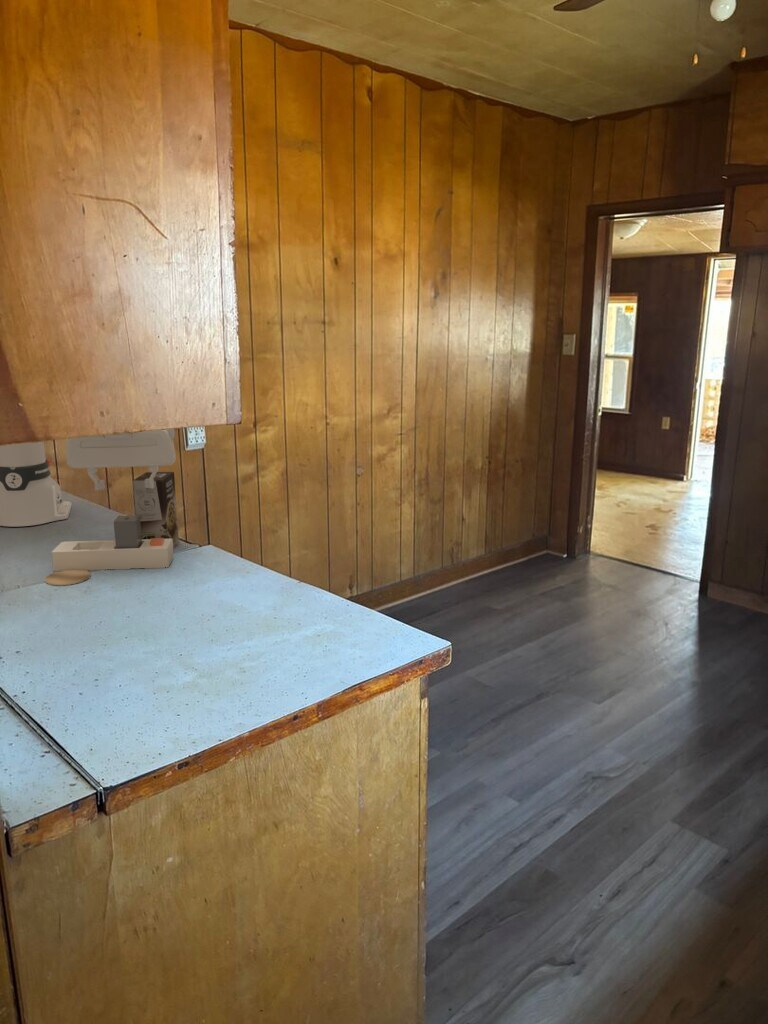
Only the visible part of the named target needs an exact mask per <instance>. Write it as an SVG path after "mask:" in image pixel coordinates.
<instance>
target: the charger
mask: <svg viewBox="0 0 768 1024" xmlns="http://www.w3.org/2000/svg"><path fill="white" fill-rule="evenodd" d="M113 528H114V538H115V539H114V540H115V542H116V549H122V548H140V546H141V545H142V536H141V524H140V515H118V516H117V517H115V519H114V520H113Z"/></svg>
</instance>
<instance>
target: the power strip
mask: <svg viewBox="0 0 768 1024" xmlns="http://www.w3.org/2000/svg"><path fill="white" fill-rule="evenodd" d="M174 554H175V553H174V548H173V539H164V538H152V539H142V545H141V546H140V548H122V549H116V542H115V539H113V540H112V539H108V540H106V539H105V540H77V541H76V540H75V541H73V540H72V541H71V540H70V541H61V542H60V543H59V544H58V545H57V546H56V547H55V548H54V549H53V550H52V551H51V560H52V570H53V572H54V573H56V572H60V571H65V570H85V571H108V570H107V569H115V570H131V569H130V568H145V569H167V567H169V568H170V566H169V565H171V564H170V563H172V562H173V560H172V559H174V558H175V556H174ZM173 557H174V558H173ZM171 561H172V562H171ZM165 567H166V568H165ZM105 569H106V570H105Z"/></svg>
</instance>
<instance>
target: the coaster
mask: <svg viewBox="0 0 768 1024" xmlns="http://www.w3.org/2000/svg"><path fill="white" fill-rule="evenodd" d="M89 577H90V578H91V573H90V572H89V570H65V571H55V572H54V573H50V574H49V575H47V576H46V577H45V578H44V579H45V580H44V581H45V583H46V584H47V583H48V584H47V585H49V584H50V586H54V585H61V586H60V587H63V585H66V586H71V584H74V585H77V584H76V583H78V584H81V583H83V582H82V581H84V580H86V581H88V580H89V579H90V578H89ZM88 578H89V579H88ZM87 579H88V580H87ZM80 582H81V583H80ZM84 582H85V581H84Z"/></svg>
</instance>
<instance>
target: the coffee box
mask: <svg viewBox="0 0 768 1024" xmlns="http://www.w3.org/2000/svg"><path fill="white" fill-rule="evenodd" d="M152 472H153V471H152ZM152 472H150V471H149V472H146V471H145V472H144V473H143V474H141V475H140V476H138V477H136V478H135V479H132V483H133V484H132V486H133V487H132V488H133V499H134V512H135V515H140V524H141V536H142V539H152V538H164V539H173V549H174V548H175V547H176V546H177V545H178V544H179V542H180V539H179V525H178V523H179V522H178V510H177V497H176V495H177V494H176V483H175V482H176V481H175V472H174V471H158V472H157V473H156V475H155V477H154V488H153V489H145V483H144V480H145V479H149V478H150V476H151V474H152ZM135 515H134V516H135Z"/></svg>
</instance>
